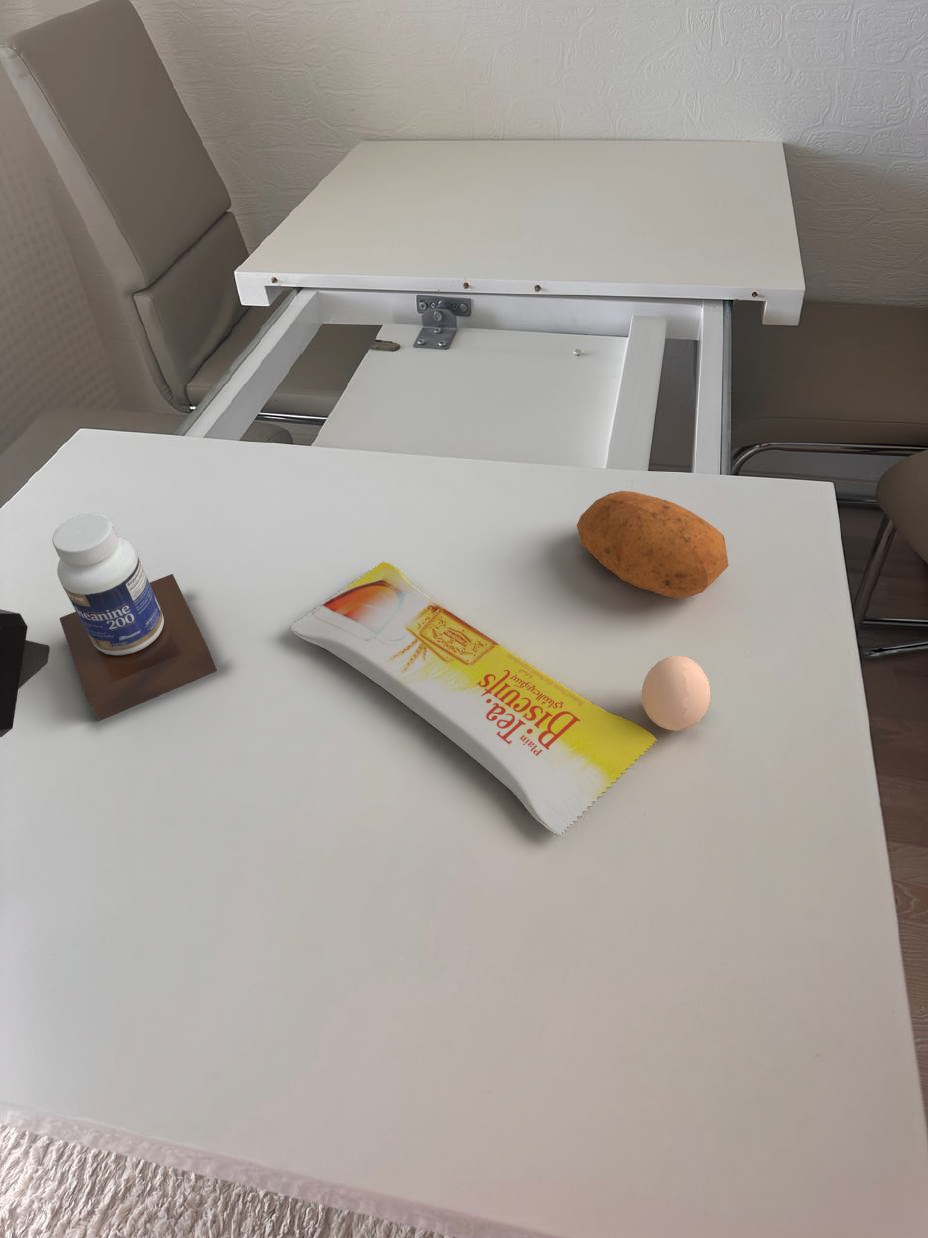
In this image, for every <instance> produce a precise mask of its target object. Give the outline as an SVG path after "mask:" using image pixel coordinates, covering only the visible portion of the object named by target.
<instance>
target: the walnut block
mask: <svg viewBox="0 0 928 1238" xmlns="http://www.w3.org/2000/svg"><path fill="white" fill-rule="evenodd" d="M149 583H150V585H151V588H152V590H153V593H154V595H155V597H156V599H157V602H158V604H159V606H160V609H161V611H162V614H163V618H164V624H163V628H162V630H161V632H160V634H159V636H158V637H157V638H156V639H155V640H154V641H153V642H152V643H151V644H150V645H148V646H147V647H145V648H144V649H142V650H139V651H137V652H134V653H131V654H126V655H110V654H105V653H103V652H102V651H100V650H98V649H97V648H96V647H95V646H94V644H93V643H92V641H91V639H90V637H89V635H88V633H87V632H86V630H85V628H84V626H83V624H82V622H81V620H80V618H79V616H78V614H77V612H76V611H73V612H71V613H68V614H65V615H63V616H61V617H59V623H60V625H61V628H62V631H63V634H64V637H65V640H66V643H67V646H68V650H69V653H70V655H71V658H72V661H73V664H74V667H75V670H76V673H77V676H78V679H79V682H80V685H81V688H82V692H83V694H84V697H85V698H86V699H87V702H88V703H89V705H90V707H91V709H92V710H93V712H94V714H95V716H96V717H97V720H98V721H102V720H105V719H107V718H109V717H112V716H114V715H117V714H119V713H121V712H123V711H126V710H128V709H131V708H134V707H135V706H137V705H140V704H142V703H145V702H147V701H150V700H152V699H154V698H156V697H158V696H161V695H164V694H166V693H168V692H170V691H172V690H175V689H177V688H180V687H182V686H185V685H186V684H187V685H188V684H189V683H192V682H194V681H196V680H199V679H201V678H203V677H206V676H208V675H211V674H213V673H215V672H217V671H218V668H217V666H216V664H215V661H214V659H213V656H212V654H211V651H210V648H209V646H208V643H207V641H206V640H205V638H204V635H203V633H202V631H201V629H200V627H199V625H198V623H197V621H196V620H195V617H194V615H193V612H192V610H191V609H190V607H189V605H188V602H187V600H186V598H185V596H184V594H183V592H182V590H181V588H180V586H179V584H178V582H177V579H176V577H175V575H174V574H173V573H171V574H168V575H165V576H163V577H160V578H158V579H155V580H152V581H149Z"/></svg>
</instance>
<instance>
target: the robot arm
mask: <svg viewBox="0 0 928 1238" xmlns="http://www.w3.org/2000/svg"><path fill="white" fill-rule="evenodd" d="M28 628H29V627H28V625H27V622H26V621H25V619H24V618H23V616H22V614H21V613H19V612H15V611H12V610H11V611H10V610H5V609H1V608H0V738H3V737H4V736H5V735H6V734H7V733H10V731H12V730H13V729H14V722H15V715H16V710H17V709H16V708H17V702H18V696H19V690H20V689H21V688H22V686H24V685H25V684H26V683H28V682H29V680H31V679H32V678H33V677H34V676H35V675H36V674H38V672H40V671H41V670H42V669H43V668H44V667H45V666H47V664H48V662H49V657H50V646H49V645H48V644H45V643H42V642H35V641H32V640H27V634H28Z"/></svg>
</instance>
